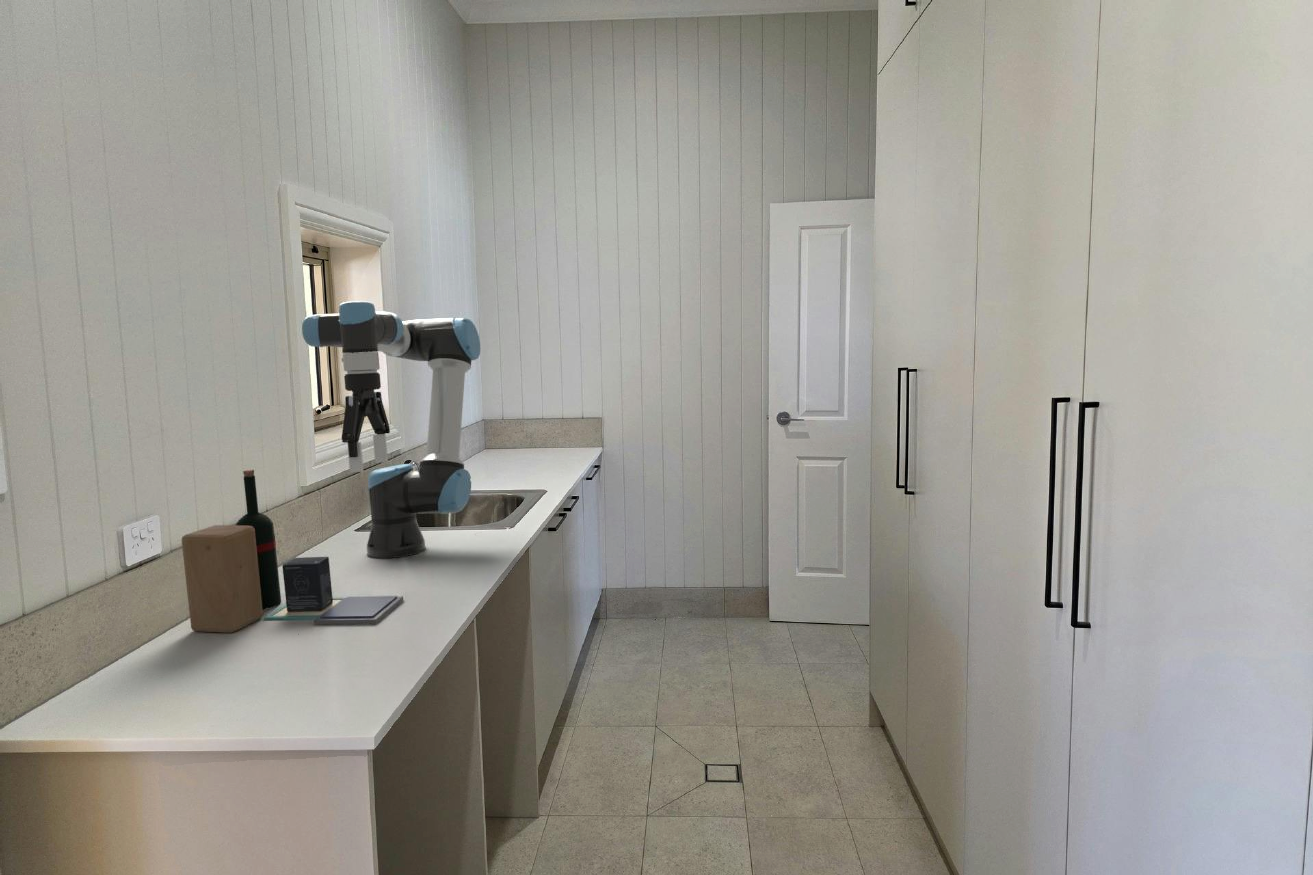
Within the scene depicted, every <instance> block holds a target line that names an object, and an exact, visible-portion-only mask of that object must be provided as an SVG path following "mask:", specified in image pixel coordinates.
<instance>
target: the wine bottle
mask: <svg viewBox="0 0 1313 875" xmlns="http://www.w3.org/2000/svg"><path fill="white" fill-rule="evenodd" d="M242 473H243V483H244V484H243V486H244V494H245V504H246V505H245V506H246V514H244V515H242V517H240V518H239V519H238V521H237V522H236V524H235V525H241V526H252V527H254V529H255V538H256V548H257V558H258V568H259V579H260V589H261V599H262V609H263V611H264V610H268V609H273V608H275V607H277V606H279V605H280V604H281V603H282V593H281V585H280V575H279V574H280V573H279V566H278V556H277V548H276V544H277V543H276V535H275V527H274V523H273V521H272V519H271V518H270V517H269V516H268V515H266V514H264V513H262V512H259V505H258V495H257V494H258V493H257V486H256V485H257V484H256V476H255V469H246V470H243V471H242Z"/></svg>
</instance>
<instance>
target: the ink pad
mask: <svg viewBox="0 0 1313 875" xmlns="http://www.w3.org/2000/svg"><path fill="white" fill-rule="evenodd" d="M401 603H404V596H403V595H402V596H398V595H395V596H394V595H385V596H384V595H383V596H382V595H380V596H378V595H377V596H373V595H372V596H370V595H369V596H346V597H345V598H344V599H343V600H341V601H340V602H338V603H337V604H336V605H334V606H333V607H331V608H330V609H328V610H327V611H326V612H324V613H323V614H321V615H320V616H319V617H317V618H316V619H313V626H324V625H325V626H327V625H328V626H335V625H336V626H337V625H340V626H342V625H345V626H346V625H377V624H378V623H379V622H380V621H382V620H383V619H384V618H385V617H386V616H387V615H389V614H390V613H391V612H392V611H394V610H395V609H396V608H397V607H398V606H399V605H400V604H401Z"/></svg>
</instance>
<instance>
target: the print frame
mask: <svg viewBox="0 0 1313 875" xmlns="http://www.w3.org/2000/svg"><path fill="white" fill-rule="evenodd" d="M332 598H333V603H332V604H331V605H329V606H328V607H327V608H325V609H324V610H322V611H294V612H287V605H286V603H284V604H283V605H282V606H280V607H278V608H277V609H275V610H273V611H272V612H270V613H269V614H267V615H265V616H264V617H263V620H265V621H268V620H269V621H271V620H272V621H273V620H275V621H276V620H277V621H279V620H280V621H281V620H314V619H316V618H317V617H319V616H320V615H321V614H323V613H324V612H326V611H327V610H328V609H330V608H331V607H333V606H334V605H336V604H337V603H338V602H340V601H341V600H343V599H344V598H345V597H344V596H343V597H339V596H338V597H333V596H332Z"/></svg>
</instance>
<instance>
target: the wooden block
mask: <svg viewBox="0 0 1313 875" xmlns="http://www.w3.org/2000/svg"><path fill="white" fill-rule="evenodd" d="M181 548H182V557H183V564H184V574H185V582H186V584H185V585H186V592H187V593H186V594H187V602H188V612H189V620H190V629H192V630H191V631H193V632H203V633H204V632H205V633H209V632H210V633H231V634H233V633H235V632H237V631H239V630H240V629H242V628H245V627H246V626H248V625H250V624H252V623H254V622H256V621H258V620H260V619H262V618H263V615H264V612H263V611H264V610H263V609H262V599H261V589H260V579H259V568H258V558H257V548H256V538H255V529H254V527H252V526H241V525H236V524H235V525H232V524H231V525H227V524H226V525H224V524H222V525H221V524H220V525H218V524H215V525H212V526H208V527H205V528H203V529H199V530H196V531H193V532H190V533H186V534H184V535H183V536H182V538H181Z"/></svg>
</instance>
